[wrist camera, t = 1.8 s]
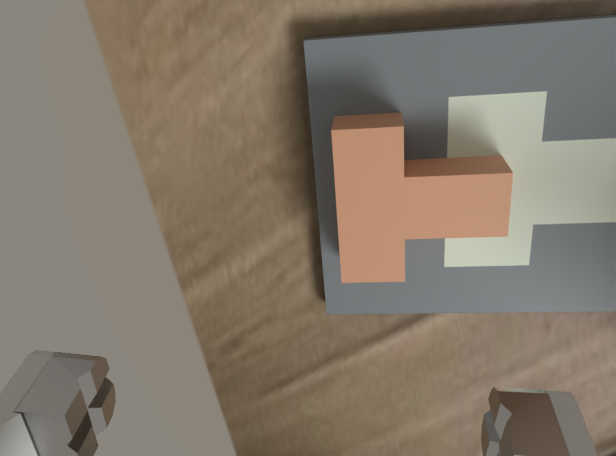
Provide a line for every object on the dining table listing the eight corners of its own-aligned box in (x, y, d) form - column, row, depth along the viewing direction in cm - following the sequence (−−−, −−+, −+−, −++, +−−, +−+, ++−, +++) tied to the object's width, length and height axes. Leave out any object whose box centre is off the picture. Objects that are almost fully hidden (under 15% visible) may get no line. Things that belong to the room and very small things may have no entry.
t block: (494, 256, 37) (504, 279, 34) (343, 259, 38) (341, 282, 35) (505, 106, 32) (517, 120, 30) (334, 116, 34) (331, 130, 31)
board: (613, 301, 39) (620, 311, 37) (327, 304, 41) (326, 314, 40) (667, 10, 30) (678, 12, 29) (305, 37, 33) (303, 40, 32)
